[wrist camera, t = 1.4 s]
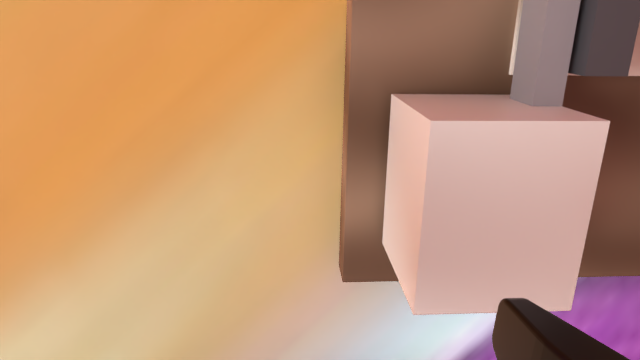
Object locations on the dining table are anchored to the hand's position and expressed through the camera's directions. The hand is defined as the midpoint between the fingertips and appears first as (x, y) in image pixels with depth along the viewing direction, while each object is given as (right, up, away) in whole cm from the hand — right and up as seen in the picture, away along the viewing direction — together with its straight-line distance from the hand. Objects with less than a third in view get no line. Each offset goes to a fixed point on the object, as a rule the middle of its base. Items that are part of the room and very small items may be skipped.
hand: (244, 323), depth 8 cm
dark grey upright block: (+10, +8, +9) cm, 16 cm away
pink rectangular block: (+6, +5, +10) cm, 13 cm away
